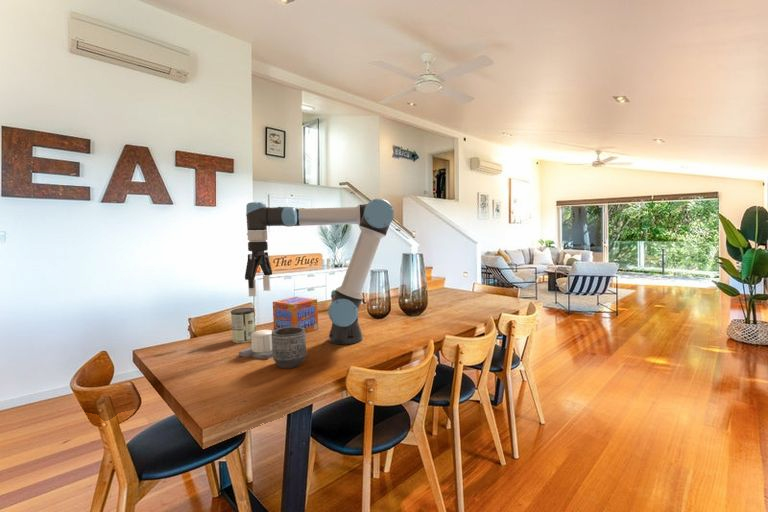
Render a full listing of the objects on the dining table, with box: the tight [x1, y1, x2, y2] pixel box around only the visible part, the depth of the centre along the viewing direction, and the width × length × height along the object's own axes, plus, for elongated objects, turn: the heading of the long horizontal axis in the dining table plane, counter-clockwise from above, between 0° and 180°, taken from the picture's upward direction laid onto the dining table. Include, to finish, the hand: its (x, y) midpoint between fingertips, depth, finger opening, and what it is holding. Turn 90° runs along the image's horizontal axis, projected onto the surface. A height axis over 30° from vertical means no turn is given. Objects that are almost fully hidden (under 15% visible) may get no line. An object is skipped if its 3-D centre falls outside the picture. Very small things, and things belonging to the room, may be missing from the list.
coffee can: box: [230, 307, 256, 344], centre depth 171 cm, size 10×10×14 cm
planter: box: [272, 327, 307, 369], centre depth 138 cm, size 12×12×13 cm
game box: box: [272, 296, 319, 334], centre depth 185 cm, size 16×16×16 cm
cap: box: [250, 329, 273, 353], centre depth 152 cm, size 8×8×7 cm
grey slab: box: [238, 346, 273, 360], centre depth 152 cm, size 14×12×6 cm
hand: (260, 293), depth 151 cm, fingers open, 13 cm apart
